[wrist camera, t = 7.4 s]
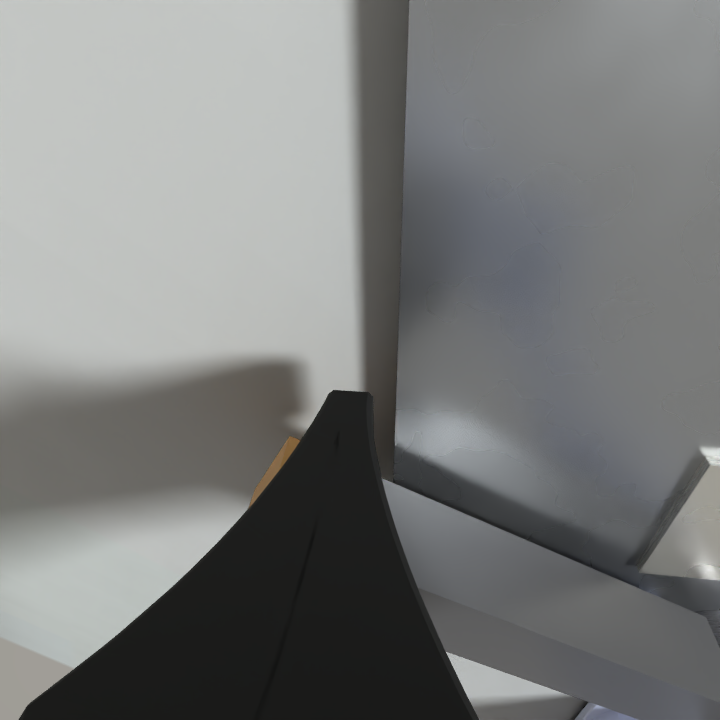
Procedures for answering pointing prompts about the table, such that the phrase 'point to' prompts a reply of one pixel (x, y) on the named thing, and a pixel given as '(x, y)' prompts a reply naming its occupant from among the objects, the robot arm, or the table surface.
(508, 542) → the swing bar
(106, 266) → the table surface
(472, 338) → the grey lever board
